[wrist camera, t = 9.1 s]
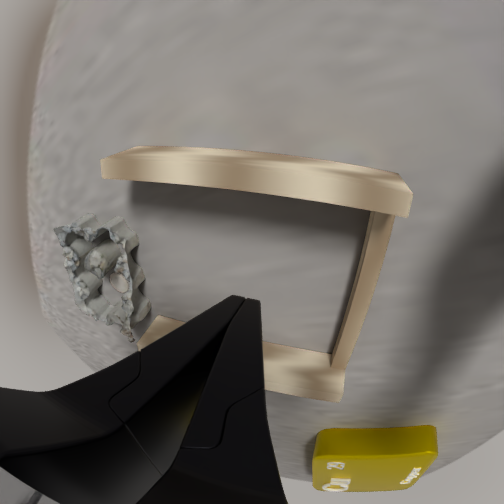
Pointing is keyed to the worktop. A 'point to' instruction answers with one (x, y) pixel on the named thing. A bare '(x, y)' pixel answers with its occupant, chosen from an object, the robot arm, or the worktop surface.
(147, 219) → the worktop surface
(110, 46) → the worktop surface
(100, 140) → the worktop surface
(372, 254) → the open wooden frame
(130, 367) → the robot arm
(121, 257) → the egg carton
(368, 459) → the element tile
